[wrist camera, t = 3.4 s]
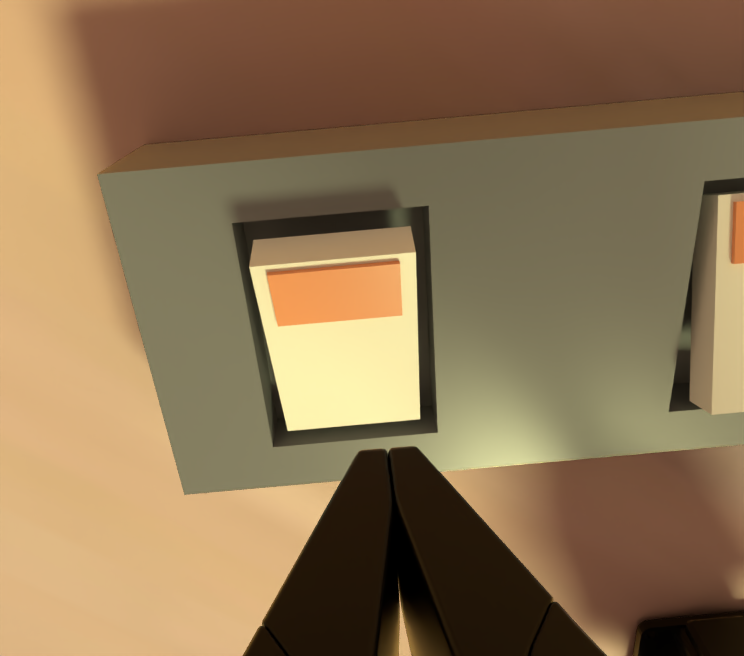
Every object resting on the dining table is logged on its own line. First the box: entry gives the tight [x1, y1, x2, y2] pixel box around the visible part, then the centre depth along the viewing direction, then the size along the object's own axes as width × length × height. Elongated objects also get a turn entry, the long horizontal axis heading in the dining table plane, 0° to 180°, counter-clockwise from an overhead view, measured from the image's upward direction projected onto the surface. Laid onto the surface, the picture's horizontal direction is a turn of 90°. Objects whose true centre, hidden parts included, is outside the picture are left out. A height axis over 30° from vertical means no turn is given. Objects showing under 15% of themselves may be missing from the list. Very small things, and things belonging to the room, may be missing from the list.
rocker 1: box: [249, 226, 420, 431], centre depth 17 cm, size 6×4×1 cm, turn 5°
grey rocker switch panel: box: [97, 91, 744, 495], centre depth 19 cm, size 10×23×4 cm, turn 95°
